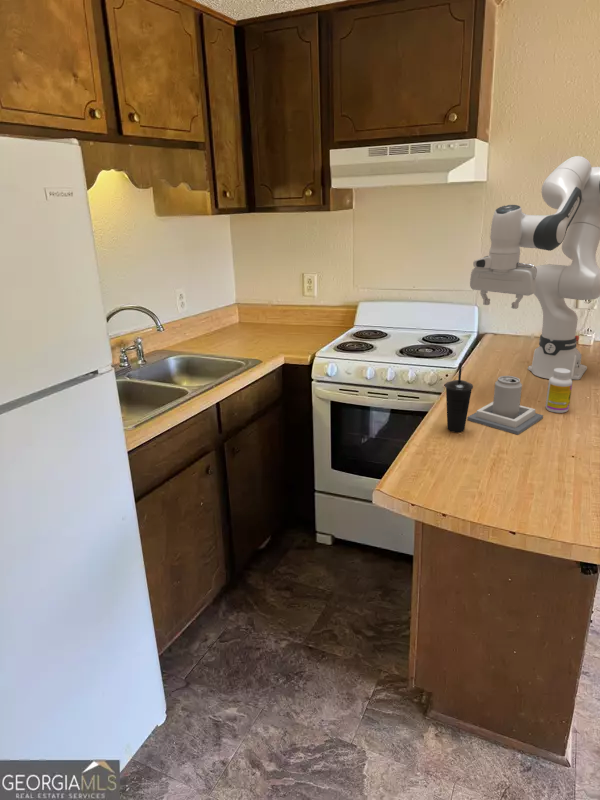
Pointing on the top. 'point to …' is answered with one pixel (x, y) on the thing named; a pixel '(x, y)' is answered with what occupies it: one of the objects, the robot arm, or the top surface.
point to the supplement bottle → (559, 391)
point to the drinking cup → (457, 403)
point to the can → (507, 396)
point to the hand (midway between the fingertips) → (500, 306)
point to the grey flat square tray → (506, 419)
